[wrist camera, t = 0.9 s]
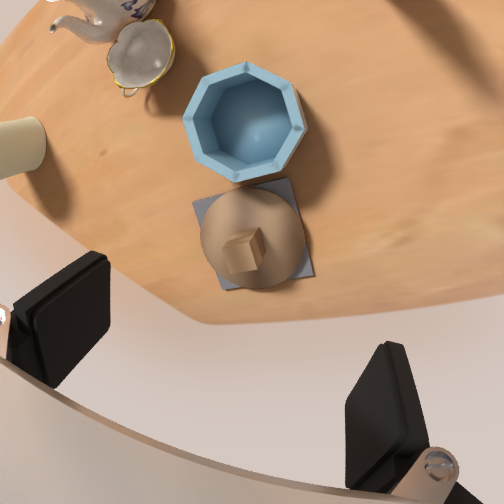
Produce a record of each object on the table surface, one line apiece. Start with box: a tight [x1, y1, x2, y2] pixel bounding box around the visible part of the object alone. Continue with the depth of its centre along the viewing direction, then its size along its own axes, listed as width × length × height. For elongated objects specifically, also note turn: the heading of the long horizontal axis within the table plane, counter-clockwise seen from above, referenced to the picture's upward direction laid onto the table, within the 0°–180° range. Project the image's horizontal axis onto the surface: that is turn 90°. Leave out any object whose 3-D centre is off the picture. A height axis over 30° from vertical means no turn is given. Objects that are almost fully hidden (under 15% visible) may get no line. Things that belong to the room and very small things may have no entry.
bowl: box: [182, 61, 308, 183], centre depth 31 cm, size 11×11×6 cm
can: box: [0, 117, 46, 180], centre depth 36 cm, size 9×9×12 cm
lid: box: [200, 187, 305, 289], centre depth 36 cm, size 12×12×6 cm
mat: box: [192, 177, 313, 290], centre depth 39 cm, size 12×12×1 cm
